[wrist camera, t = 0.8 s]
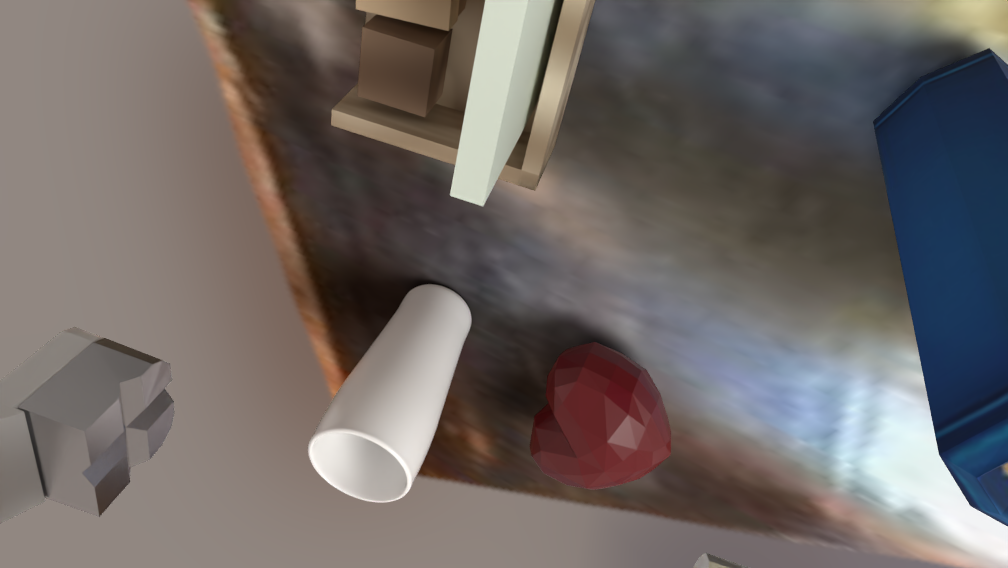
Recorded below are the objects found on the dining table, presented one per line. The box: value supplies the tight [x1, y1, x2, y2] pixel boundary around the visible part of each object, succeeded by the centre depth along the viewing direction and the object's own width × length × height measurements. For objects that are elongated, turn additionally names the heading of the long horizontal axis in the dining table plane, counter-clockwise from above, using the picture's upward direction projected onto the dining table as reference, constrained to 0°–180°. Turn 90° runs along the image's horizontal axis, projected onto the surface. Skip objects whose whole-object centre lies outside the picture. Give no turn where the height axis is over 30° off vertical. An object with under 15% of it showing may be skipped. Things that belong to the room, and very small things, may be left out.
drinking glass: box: [308, 284, 472, 502], centre depth 51 cm, size 7×7×15 cm
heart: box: [530, 342, 671, 490], centre depth 54 cm, size 12×8×10 cm
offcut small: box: [357, 14, 453, 117], centre depth 42 cm, size 4×4×3 cm
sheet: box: [450, 0, 563, 206], centre depth 35 cm, size 12×2×11 cm, turn 168°
